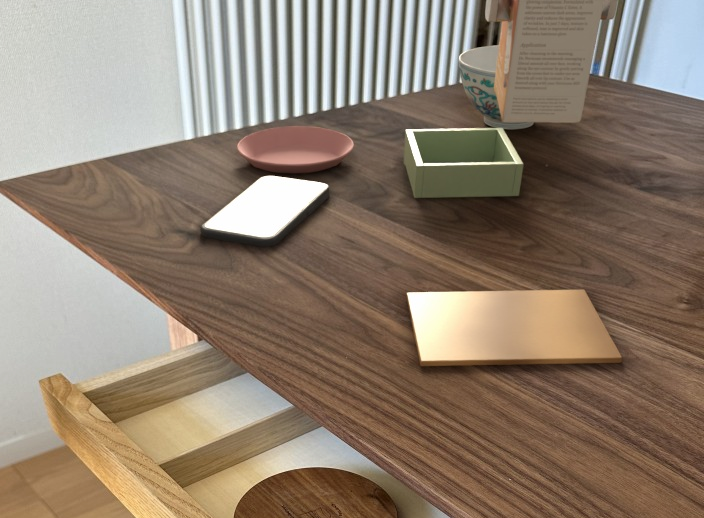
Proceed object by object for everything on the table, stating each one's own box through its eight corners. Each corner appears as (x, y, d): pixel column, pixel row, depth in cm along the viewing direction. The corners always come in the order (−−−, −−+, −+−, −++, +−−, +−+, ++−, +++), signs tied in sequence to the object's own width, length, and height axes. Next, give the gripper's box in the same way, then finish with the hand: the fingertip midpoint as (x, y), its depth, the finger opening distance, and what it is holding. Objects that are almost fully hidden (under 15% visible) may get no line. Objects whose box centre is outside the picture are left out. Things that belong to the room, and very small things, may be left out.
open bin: (498, 162, 104) (502, 127, 101) (518, 201, 94) (523, 163, 92) (403, 164, 104) (405, 129, 101) (414, 203, 95) (416, 165, 92)
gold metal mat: (582, 299, 77) (584, 289, 76) (619, 368, 68) (622, 357, 67) (405, 302, 77) (406, 292, 76) (420, 372, 68) (420, 361, 67)
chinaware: (478, 144, 109) (485, 78, 104) (437, 111, 120) (442, 49, 115) (585, 133, 111) (598, 68, 106) (535, 102, 122) (545, 41, 117)
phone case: (273, 256, 85) (334, 197, 96) (272, 241, 84) (334, 183, 95) (196, 243, 88) (263, 187, 99) (194, 228, 87) (262, 173, 98)
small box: (492, 91, 66) (512, -75, 59) (566, 92, 65) (595, -76, 58) (500, 123, 60) (523, -58, 53) (581, 124, 59) (616, -58, 52)
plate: (217, 172, 103) (215, 154, 101) (270, 136, 112) (270, 120, 111) (324, 188, 98) (324, 171, 97) (370, 150, 108) (371, 134, 106)
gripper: (418, -251, 47) (402, 32, 56) (787, -259, 47) (711, 26, 56) (407, -249, 52) (394, 12, 61) (743, -257, 52) (679, 6, 61)
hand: (549, 19), depth 59 cm, fingers closed on small box, 6 cm apart
